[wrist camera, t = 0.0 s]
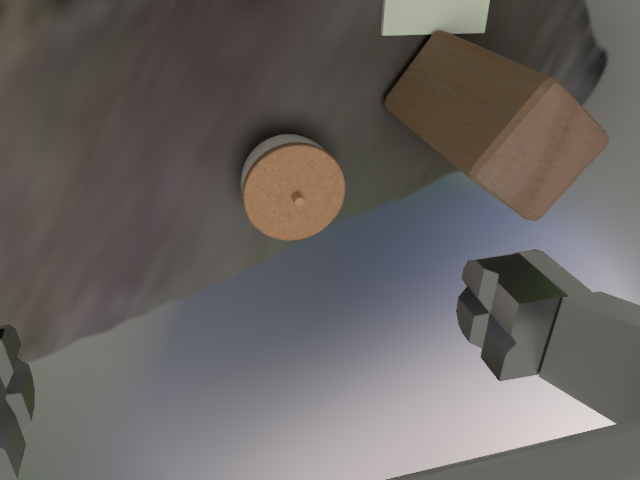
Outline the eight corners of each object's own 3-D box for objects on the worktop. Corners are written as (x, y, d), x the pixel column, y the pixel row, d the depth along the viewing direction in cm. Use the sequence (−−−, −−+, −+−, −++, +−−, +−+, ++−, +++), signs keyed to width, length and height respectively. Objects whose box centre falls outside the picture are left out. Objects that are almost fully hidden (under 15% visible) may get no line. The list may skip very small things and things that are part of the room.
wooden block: (490, 75, 62) (618, 140, 46) (434, 145, 65) (537, 228, 49) (435, 23, 57) (558, 76, 41) (377, 102, 59) (471, 180, 43)
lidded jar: (216, 148, 58) (226, 183, 50) (304, 104, 58) (328, 131, 50) (258, 223, 64) (273, 265, 56) (338, 183, 64) (364, 219, 56)
